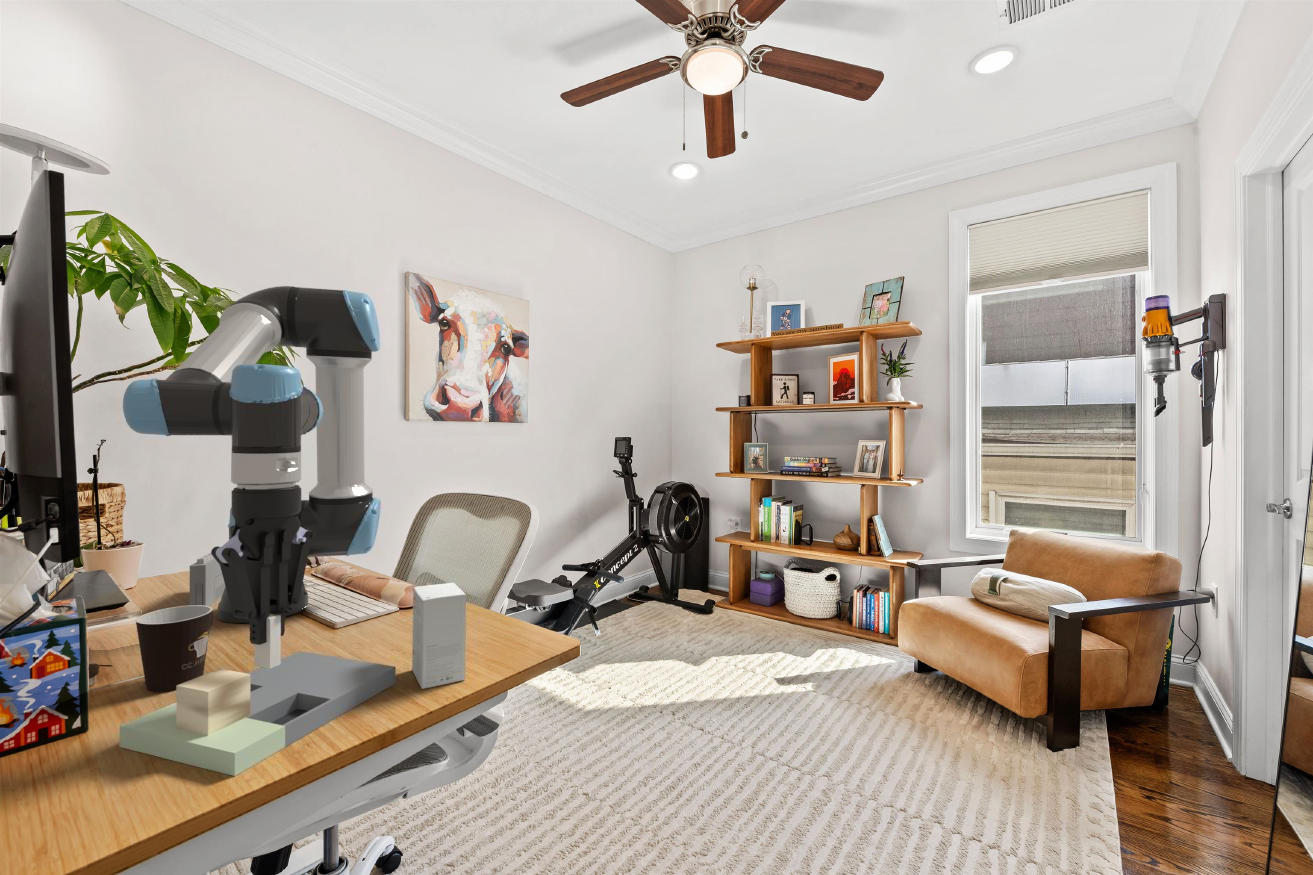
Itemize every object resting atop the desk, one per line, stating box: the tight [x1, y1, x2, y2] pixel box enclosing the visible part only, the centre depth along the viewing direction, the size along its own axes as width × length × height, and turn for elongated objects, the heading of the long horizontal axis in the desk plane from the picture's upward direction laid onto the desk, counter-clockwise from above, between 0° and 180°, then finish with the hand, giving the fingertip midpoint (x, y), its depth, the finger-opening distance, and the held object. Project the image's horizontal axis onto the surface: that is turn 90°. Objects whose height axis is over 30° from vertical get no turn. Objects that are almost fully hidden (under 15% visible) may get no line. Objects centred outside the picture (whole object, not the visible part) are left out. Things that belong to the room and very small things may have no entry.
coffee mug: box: [135, 604, 214, 694], centre depth 86 cm, size 12×9×10 cm
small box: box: [411, 582, 467, 690], centre depth 89 cm, size 8×6×13 cm
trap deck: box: [119, 650, 397, 777], centre depth 77 cm, size 24×18×2 cm
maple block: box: [175, 668, 251, 736], centre depth 69 cm, size 5×5×5 cm
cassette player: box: [189, 552, 225, 607], centre depth 125 cm, size 16×3×10 cm, turn 17°
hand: (267, 664), depth 76 cm, fingers closed
